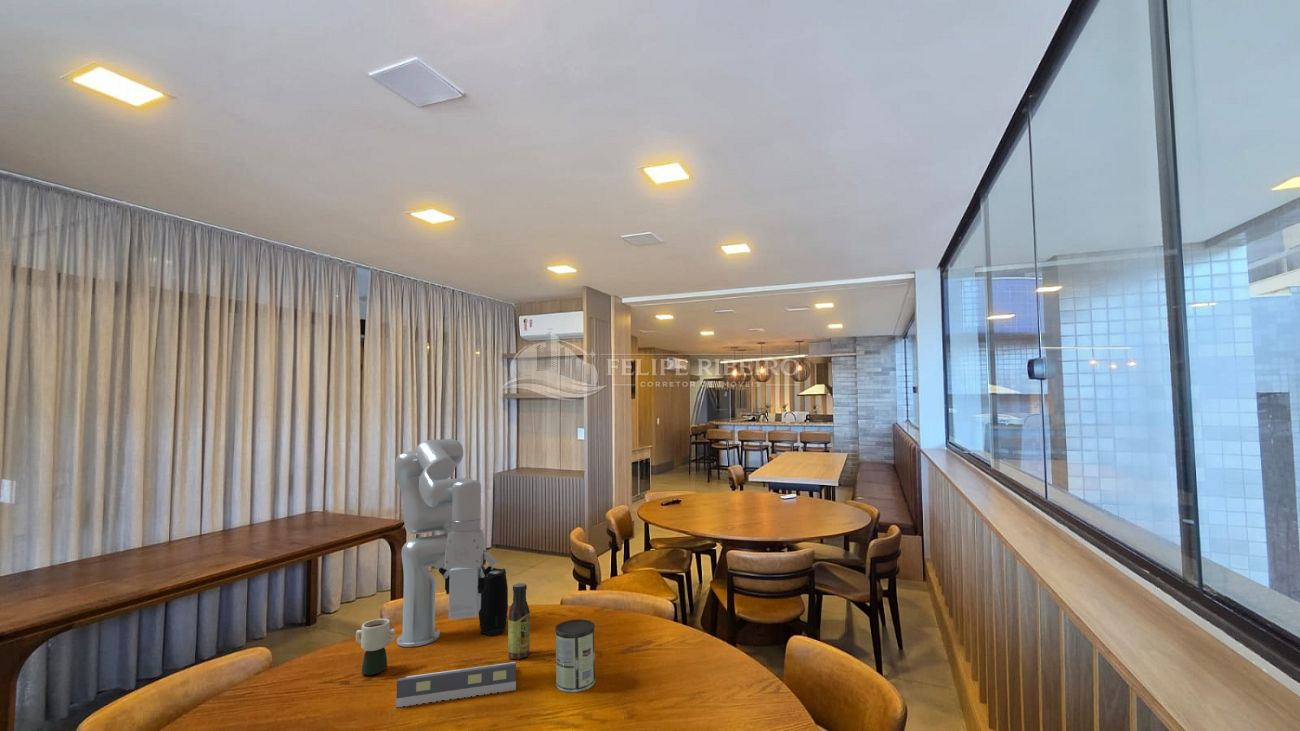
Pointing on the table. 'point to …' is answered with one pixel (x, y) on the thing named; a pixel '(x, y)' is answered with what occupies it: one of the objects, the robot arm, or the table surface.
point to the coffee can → (575, 655)
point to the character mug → (375, 644)
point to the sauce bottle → (519, 624)
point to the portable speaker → (494, 603)
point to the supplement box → (464, 593)
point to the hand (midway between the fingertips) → (465, 592)
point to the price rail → (455, 680)
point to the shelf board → (455, 692)
